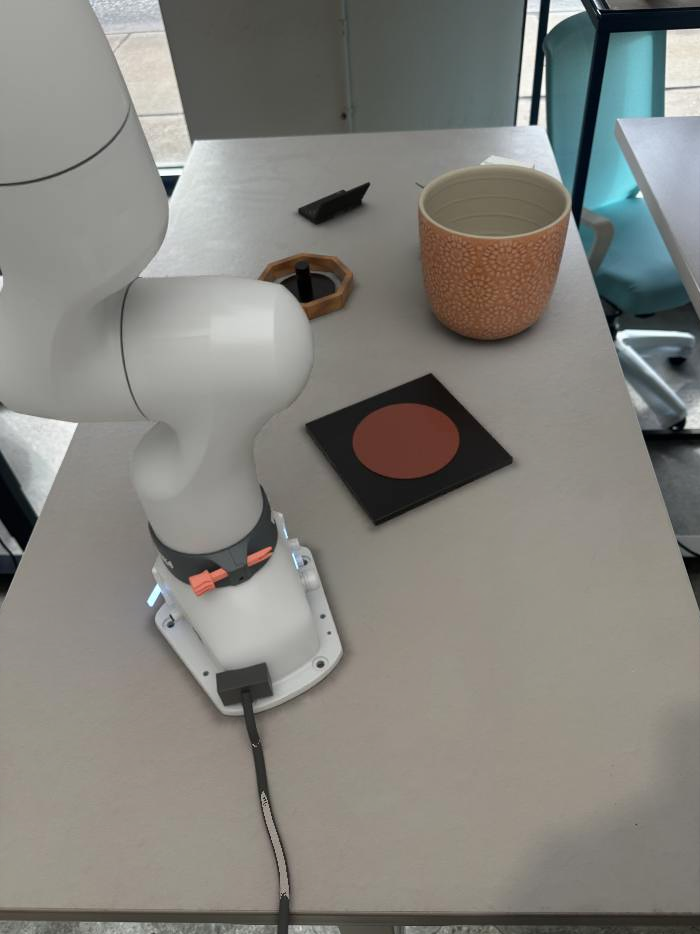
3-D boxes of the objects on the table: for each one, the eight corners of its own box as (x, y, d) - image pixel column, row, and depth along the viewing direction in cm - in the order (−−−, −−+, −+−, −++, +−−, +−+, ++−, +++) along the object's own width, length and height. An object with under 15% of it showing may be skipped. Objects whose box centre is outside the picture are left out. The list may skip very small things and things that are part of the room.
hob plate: (512, 463, 93) (513, 456, 92) (375, 526, 88) (375, 520, 87) (431, 378, 105) (431, 371, 104) (305, 429, 99) (304, 422, 99)
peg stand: (346, 296, 119) (343, 269, 115) (290, 316, 117) (285, 289, 113) (319, 268, 125) (316, 242, 121) (266, 287, 122) (260, 260, 119)
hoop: (366, 299, 119) (365, 285, 117) (282, 329, 114) (280, 316, 112) (326, 258, 127) (324, 244, 125) (246, 284, 123) (244, 271, 121)
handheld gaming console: (334, 182, 141) (349, 151, 132) (359, 211, 143) (376, 183, 133) (292, 214, 138) (305, 185, 128) (319, 243, 139) (333, 217, 129)
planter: (398, 339, 111) (393, 221, 97) (449, 269, 123) (451, 154, 108) (529, 372, 105) (545, 250, 90) (570, 294, 116) (590, 176, 102)
